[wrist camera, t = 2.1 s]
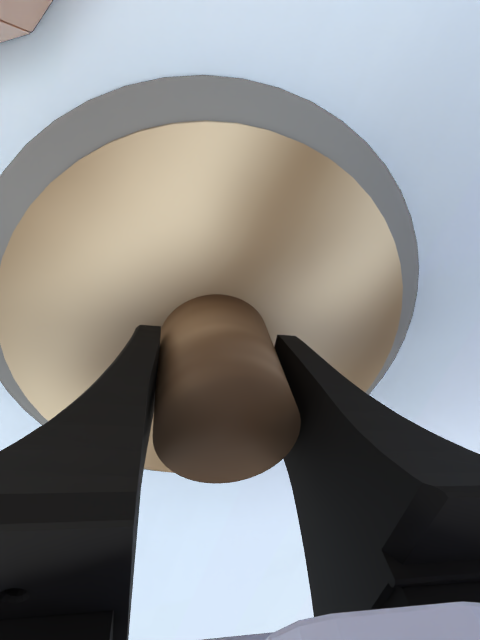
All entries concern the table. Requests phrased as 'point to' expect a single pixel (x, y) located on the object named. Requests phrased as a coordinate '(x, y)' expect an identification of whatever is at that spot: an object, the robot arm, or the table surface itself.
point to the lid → (200, 285)
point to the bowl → (20, 17)
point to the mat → (197, 105)
